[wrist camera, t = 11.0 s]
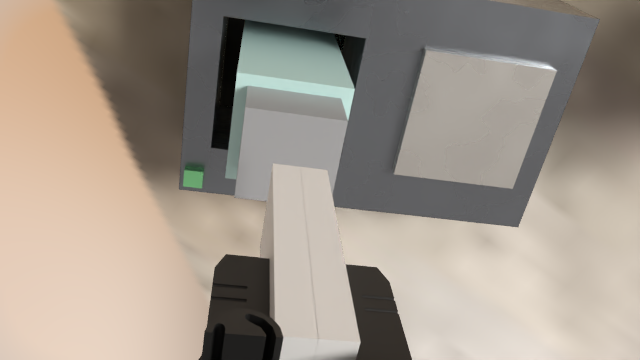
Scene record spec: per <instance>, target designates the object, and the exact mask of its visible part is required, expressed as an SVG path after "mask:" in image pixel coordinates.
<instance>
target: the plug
mask: <svg viewBox="0 0 640 360" xmlns="http://www.w3.org/2000/svg"><path fill="white" fill-rule="evenodd" d="M354 91H355V88H354V85H353V83H352V80H351V78H350V75H349V72H348V70H347V67H346V64H345V62H344V59H343V56H342V54H341V51H340V48H339V46H338V43H337V41H336V38H335V35H334V33H328V32H322V31H316V30H309V29H303V28H296V27H290V26H284V25H277V24H271V23H265V22H258V21H252V20H245V24H244V30H243V37H242V43H241V49H240V56H239V62H238V69H237V76H236V85H235V94H234V103H233V112H232V121H231V130H230V139H229V147H228V156H227V165H226V174H225V178H228V179H236V187H235V197H234V198H242V199H251V200H260V201H267V198H268V192H269V185H270V179H271V172H272V166H273V163H274V164H282V165H290V166H298V167H307V168H315V169H323V170H327V171H328V176H329V181H330V186H331V192H332V195H333V190H334V185H335V181H336V176H337V171H338V167H339V162H340V157H341V152H342V148H343V143H344V138H345V134H346V129H347V124H348V119H349V115H350V110H351V105H352V100H353V96H354Z"/></svg>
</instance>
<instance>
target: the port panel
mask: <svg viewBox="0 0 640 360" xmlns="http://www.w3.org/2000/svg"><path fill="white" fill-rule="evenodd" d="M228 17H233V18H239V19H245V20H252V21H258V22H265V23H271V24H277V25H284V26H290V27H296V28H303V29H309V30H316V31H322V32H328V33H335V34H341V35H346V37H345V42H344V47H343V52H342V56H343V59H344V62H345V64H346V67H347V70H348V72H349V75H350V78H351V80H352V83H353V85H354V88H355V91H354V96H353V100H352V105H351V110H350V115H349V119H348V124H347V129H346V134H345V138H344V143H343V148H342V152H341V157H340V162H339V167H338V171H337V176H336V181H335V185H334V190H333V195H332V197H333V202H334V207H342V208H351V209H359V210H368V211H377V212H386V213H395V214H404V215H413V216H422V217H431V218H440V219H449V220H458V221H467V222H476V223H485V224H494V225H503V226H512V227H518V226H519V224H520V221H521V219H522V216H523V213H524V211H525V208H526V206H527V203H528V201H529V198H530V196H531V193H532V191H533V188H534V186H535V183H536V180H537V178H538V175H539V173H540V170H541V168H542V165H543V163H544V160H545V158H546V155H547V152H548V150H549V147H550V145H551V142H552V140H553V137H554V135H555V132H556V130H557V127H558V125H559V122H560V119H561V117H562V114H563V112H564V109H565V107H566V104H567V102H568V99H569V97H570V94H571V91H572V89H573V86H574V84H575V81H576V79H577V76H578V74H579V71H580V69H581V66H582V64H583V61H584V58H585V56H586V53H587V51H588V48H589V46H590V43H591V41H592V38H593V36H594V33H595V30H596V28H597V25H598V23H599V20H600V19H598V18H596V17H594V16H592V15H590V14H587V13H585V12H583V11H581V10H579V9H577V8H575V7H573V6H570V5H568V4H566V3H564V2H562V1H560V0H192V12H191V26H190V40H189V55H188V69H187V83H186V97H185V111H184V125H183V139H182V153H181V167H180V182H179V189H180V190H189V191H198V192H207V193H216V194H225V195H234V196H235V187H236V179H228V178H225V174H226V165H227V156H228V147H229V139H230V130H231V121H232V112H233V107H230V106H223V105H220V96H221V86H222V77H223V67H224V57H225V47H226V37H227V27H228Z"/></svg>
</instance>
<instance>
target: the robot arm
mask: <svg viewBox="0 0 640 360" xmlns="http://www.w3.org/2000/svg"><path fill="white" fill-rule="evenodd" d="M397 312H398V310H397V307H396V303H395V301H394V296H393V293H392V289H391V286H390V282H389V281H388V280H387V279H386V278H385V276H384V275H383V274H382V273H381V272H380V271H379V269H378V268H377V267H367V266H356V265H346V264H345V259H344V254H343V249H342V243H341V238H340V233H339V228H338V223H337V218H336V212H335V207H334V202H333V197H332V192H331V186H330V181H329V176H328V171H327V170H323V169H315V168H307V167H298V166H290V165H282V164H274V163H273V166H272V172H271V179H270V185H269V192H268V198H267V205H266V211H265V218H264V225H263V231H262V238H261V244H260V258H258V257H248V256H238V255H227V254H226V255H225V256H224V257H223V259H222V260H221V261H220V262H219V263H218V264H217V266H216V267H215V271H214V278H213V286H212V293H211V300H210V308H209V315H208V324H207V328H206V330H205V334H204V344H203V352H202V356H201V357H200V358H199V360H412V358H411V355H410V351H409V348H408V345H407V341H406V338H405V334H404V331H403V327H402V324H401V320H400V317H399V314H397Z"/></svg>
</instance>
